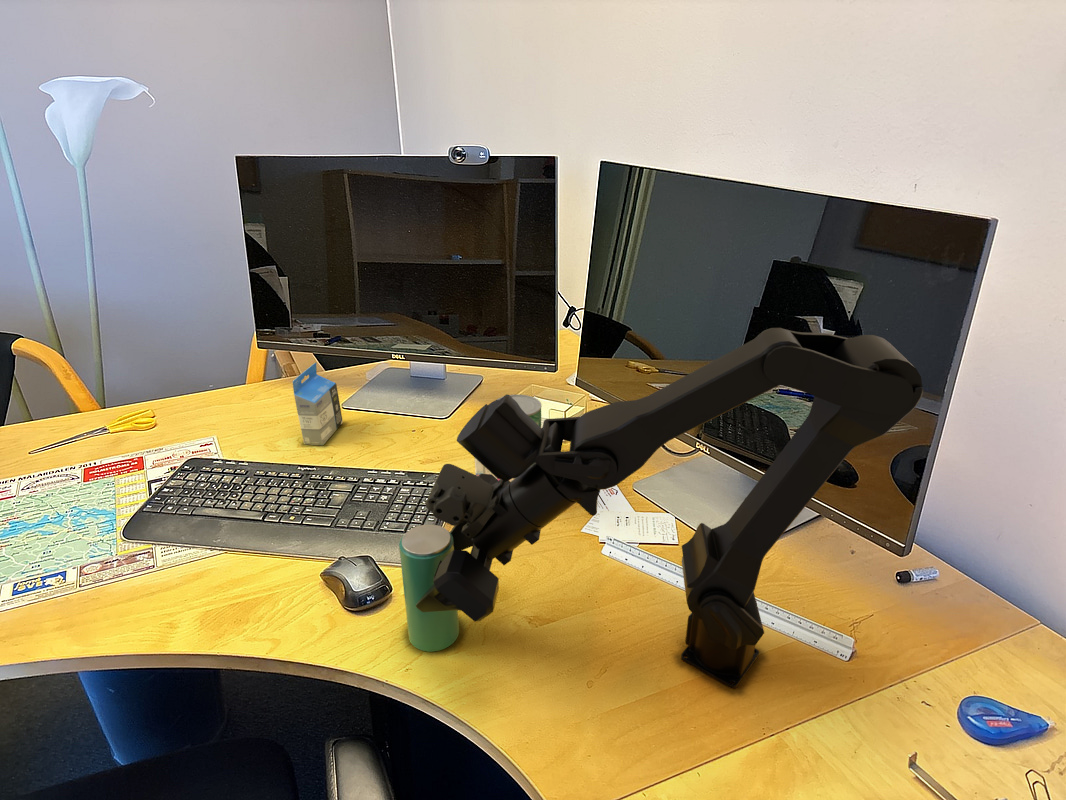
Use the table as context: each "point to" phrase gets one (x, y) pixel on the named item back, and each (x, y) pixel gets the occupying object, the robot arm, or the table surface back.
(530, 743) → the table surface
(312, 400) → the label tape box
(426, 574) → the can
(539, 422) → the canned tomato
